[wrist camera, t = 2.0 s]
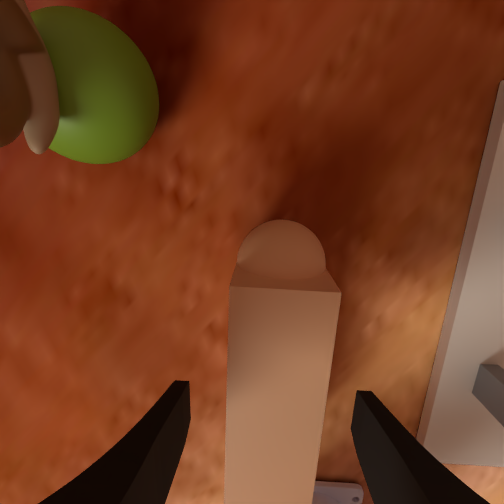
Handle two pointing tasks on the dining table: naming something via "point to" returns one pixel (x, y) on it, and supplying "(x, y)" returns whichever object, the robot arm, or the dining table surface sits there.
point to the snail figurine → (73, 84)
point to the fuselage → (278, 364)
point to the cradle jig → (473, 329)
